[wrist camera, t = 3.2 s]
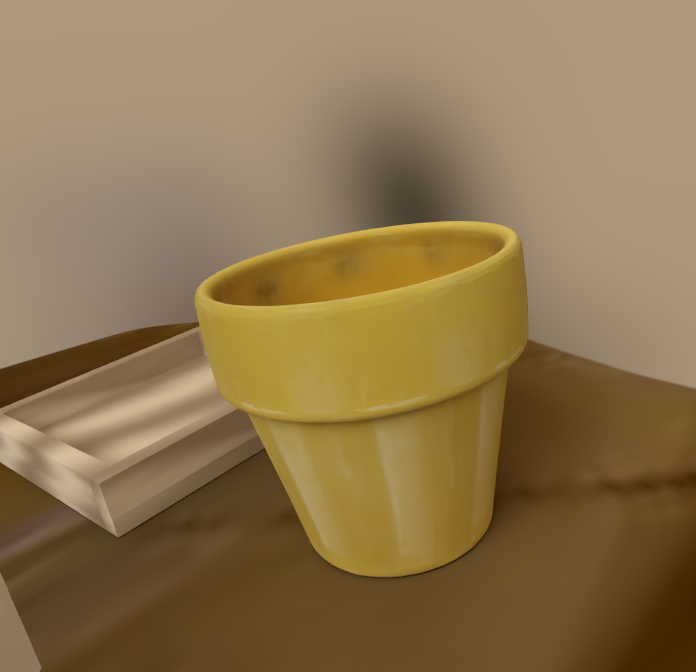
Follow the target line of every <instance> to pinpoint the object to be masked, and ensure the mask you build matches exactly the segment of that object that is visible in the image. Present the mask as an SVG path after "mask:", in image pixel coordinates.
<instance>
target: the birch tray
mask: <svg viewBox="0 0 696 672" xmlns="http://www.w3.org/2000/svg"><path fill="white" fill-rule="evenodd" d="M264 448H265V447H264V445H263V443H262V441H261V439H260V437H259V435H258V433H257V431H256V429H255V427H254V425H253V423H252V421H251V419H250V417H249V415H248V413H246V412H244V411H242V410H240V409H238V408H236V407H234V406H233V405H231V404H230V403H229V402H228V401H227V400H226V399H225V398H224V397H223V396H222V394H221V393H220V391H219V389H218V386H217V384H216V381H215V378H214V375H213V372H212V369H211V366H210V362H209V359H208V356H207V352H206V349H205V345H204V341H203V337H202V333H201V329H200V326H199V327H197V328H194V329H192V330H189V331H187V332H185V333H182V334H180V335H177V336H175V337H173V338H170V339H168V340H165V341H163V342H160V343H158V344H156V345H153V346H151V347H148V348H146V349H143V350H141V351H139V352H136V353H134V354H131V355H129V356H127V357H124V358H122V359H119V360H117V361H114V362H112V363H110V364H107V365H105V366H102V367H100V368H98V369H95V370H93V371H90V372H88V373H85V374H83V375H81V376H78V377H76V378H73V379H71V380H69V381H66V382H64V383H61V384H59V385H56V386H54V387H52V388H49V389H47V390H44V391H42V392H39V393H37V394H35V395H32V396H30V397H27V398H25V399H23V400H20V401H18V402H15V403H13V404H10V405H8V406H6V407H3V408H1V409H0V462H1V463H2V464H4V465H5V466H7V467H9V468H10V469H12V470H13V471H15V472H16V473H18V474H20V475H21V476H23V477H24V478H26V479H27V480H29V481H30V482H32V483H34V484H35V485H37V486H38V487H40V488H41V489H43V490H45V491H46V492H48V493H49V494H51V495H52V496H54V497H55V498H57V499H59V500H60V501H62V502H63V503H65V504H66V505H68V506H69V507H71V508H73V509H74V510H76V511H77V512H79V513H80V514H82V515H84V516H85V517H87V518H88V519H90V520H91V521H93V522H94V523H96V524H98V525H99V526H101V527H102V528H104V529H105V530H107V531H108V532H110V533H112V534H113V535H115V536H116V537H118V538H119V537H120V536H122V535H124V534H125V533H127V532H128V531H130V530H132V529H133V528H135V527H137V526H138V525H140V524H141V523H143V522H145V521H146V520H148V519H150V518H151V517H153V516H155V515H156V514H158V513H159V512H161V511H163V510H164V509H166V508H168V507H169V506H171V505H172V504H174V503H176V502H177V501H179V500H181V499H182V498H184V497H186V496H187V495H189V494H190V493H192V492H194V491H195V490H197V489H199V488H200V487H202V486H203V485H205V484H207V483H208V482H210V481H212V480H213V479H215V478H216V477H218V476H220V475H221V474H223V473H225V472H226V471H228V470H230V469H231V468H233V467H234V466H236V465H238V464H239V463H241V462H243V461H244V460H246V459H247V458H249V457H251V456H252V455H254V454H256V453H257V452H259V451H260V450H262V449H264Z"/></svg>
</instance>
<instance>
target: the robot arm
mask: <svg viewBox="0 0 696 672" xmlns="http://www.w3.org/2000/svg"><path fill="white" fill-rule="evenodd" d="M40 670H41V665H40V663H39V661H38V658H37V656H36V654H35V652H34V649H33V647H32V645H31V642H30V640H29V638H28V635H27V633H26V631H25V628H24V626H23V624H22V622H21V619H20V617H19V615H18V612H17V610H16V608H15V605H14V603H13V601H12V599H11V596H10V594H9V592H8V589H7V587H6V585H5V582H4V580H3V578H2V575H1V573H0V672H39V671H40Z"/></svg>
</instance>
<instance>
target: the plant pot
mask: <svg viewBox="0 0 696 672" xmlns="http://www.w3.org/2000/svg"><path fill="white" fill-rule="evenodd" d="M195 307H196V312H197V317H198V320H199V325H200V329H201V333H202V337H203V341H204V345H205V349H206V352H207V356H208V359H209V362H210V366H211V369H212V372H213V375H214V378H215V381H216V384H217V386H218V389H219V391H220V393H221V394H222V396H223V397H224V398H225V399H226V400H227V401H228V402H229V403H230V404H231V405H233V406H234V407H236V408H238V409H240V410H242V411H244V412H246V413H248V415H249V417H250V419H251V421H252V423H253V425H254V427H255V429H256V431H257V433H258V435H259V437H260V439H261V441H262V443H263V445H264V447H265V449H266V451H267V453H268V455H269V457H270V459H271V461H272V463H273V465H274V467H275V469H276V471H277V473H278V475H279V477H280V479H281V481H282V483H283V485H284V487H285V489H286V491H287V493H288V496H289V498H290V500H291V502H292V504H293V506H294V508H295V510H296V512H297V514H298V516H299V519H300V521H301V523H302V525H303V527H304V529H305V531H306V534H307V536H308V538H309V540H310V542H311V544H312V546H313V547H314V548H315V550H316V551H317V552H318V553H319V554H320V555H321V556H322V557H323V558H324V559H325V560H326V561H328V562H329V563H331V564H332V565H334V566H336V567H338V568H340V569H342V570H345V571H347V572H350V573H353V574H357V575H364V576H371V577H400V576H406V575H412V574H417V573H422V572H426V571H429V570H432V569H435V568H437V567H440V566H443V565H445V564H447V563H449V562H451V561H453V560H455V559H457V558H459V557H460V556H462V555H463V554H465V553H466V552H467V551H469V550H470V549H471V548H472V547H473V546H474V545H475V544H476V543H477V542H478V541H479V540H480V539H481V538H482V536H483V535H484V534H485V532H486V531H487V529H488V526H489V524H490V522H491V518H492V514H493V502H494V492H495V482H496V473H497V463H498V454H499V445H500V437H501V428H502V419H503V410H504V401H505V393H506V385H507V377H508V369H509V367H510V366H511V365H512V364H513V363H514V362H515V361H516V360H517V359H518V358H519V356H520V355H521V353H522V352H523V350H524V348H525V346H526V343H527V339H528V304H527V288H526V277H525V267H524V258H523V249H522V242H521V239H520V237H519V235H518V234H517V233H516V232H515V231H514V230H512V229H510V228H508V227H506V226H503V225H498V224H493V223H485V222H470V221H468V222H467V221H464V222H463V221H445V222H431V223H417V224H408V225H398V226H391V227H384V228H376V229H369V230H363V231H358V232H352V233H346V234H340V235H336V236H331V237H326V238H321V239H316V240H313V241H309V242H305V243H300V244H297V245H293V246H289V247H285V248H282V249H278V250H275V251H271V252H268V253H265V254H262V255H258V256H256V257H253V258H250V259H247V260H244V261H241V262H239V263H237V264H234V265H232V266H230V267H227V268H226V269H224V270H221V271H220V272H217V273H215V274H214V275H212V276H210V277H209V278H207V279H206V280H205V281H204V282H203V283H202V284H201V285H200V286H199V287H198V289H197V291H196V293H195Z"/></svg>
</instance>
